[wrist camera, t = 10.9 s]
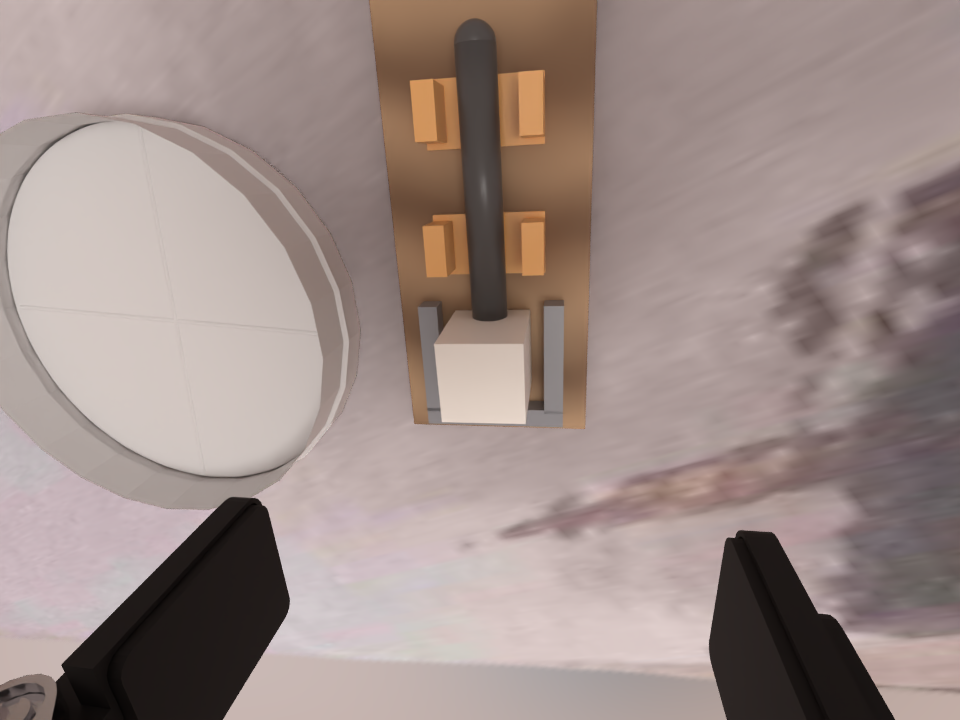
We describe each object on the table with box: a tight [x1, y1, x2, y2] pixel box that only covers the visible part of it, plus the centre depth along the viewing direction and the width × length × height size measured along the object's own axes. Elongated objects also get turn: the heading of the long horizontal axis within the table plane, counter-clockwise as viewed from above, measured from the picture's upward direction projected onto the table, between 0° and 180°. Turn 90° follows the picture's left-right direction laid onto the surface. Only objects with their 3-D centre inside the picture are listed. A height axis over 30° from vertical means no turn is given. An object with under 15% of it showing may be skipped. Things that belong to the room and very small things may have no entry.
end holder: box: [418, 300, 564, 427], centre depth 28 cm, size 7×8×1 cm
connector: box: [434, 18, 532, 424], centre depth 23 cm, size 17×4×5 cm, turn 3°
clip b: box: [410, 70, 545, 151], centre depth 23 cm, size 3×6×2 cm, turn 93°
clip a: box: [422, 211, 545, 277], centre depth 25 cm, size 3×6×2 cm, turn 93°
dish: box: [0, 113, 361, 510], centre depth 29 cm, size 22×22×5 cm
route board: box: [369, 0, 597, 429], centre depth 26 cm, size 24×10×1 cm, turn 3°
